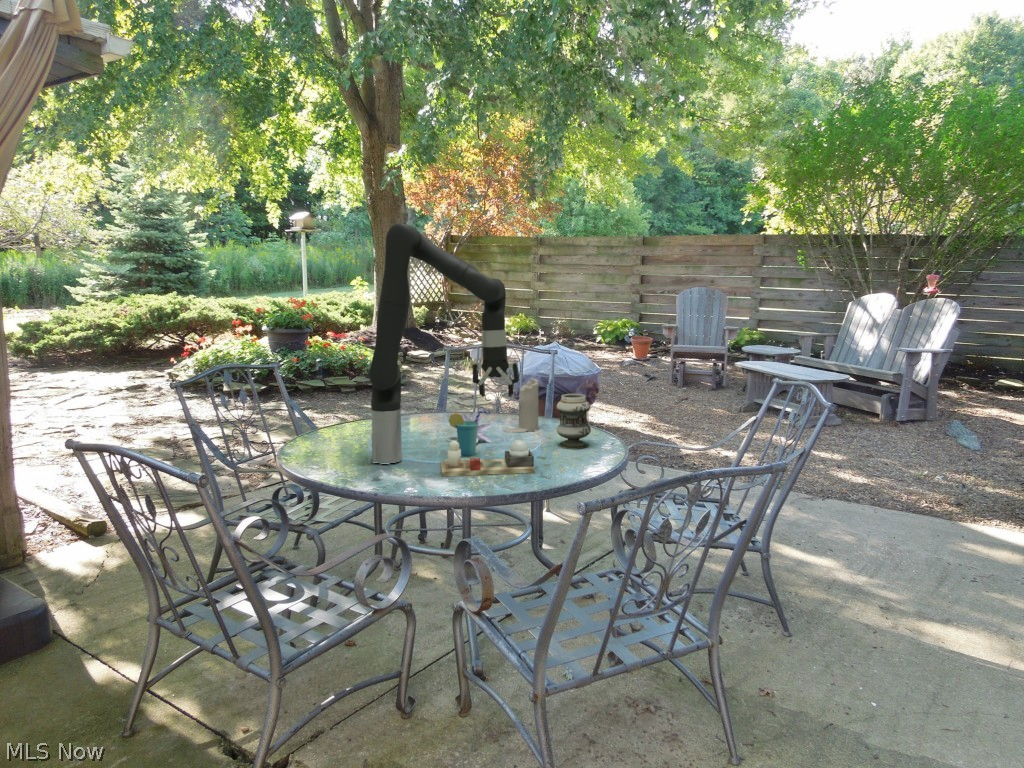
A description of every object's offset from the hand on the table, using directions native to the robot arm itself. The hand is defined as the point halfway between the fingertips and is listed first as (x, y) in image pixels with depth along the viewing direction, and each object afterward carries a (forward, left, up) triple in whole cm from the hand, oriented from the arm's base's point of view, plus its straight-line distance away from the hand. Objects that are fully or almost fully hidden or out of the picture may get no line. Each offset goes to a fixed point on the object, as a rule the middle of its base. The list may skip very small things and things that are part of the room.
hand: (496, 396), depth 206 cm
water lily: (-5, +31, -23) cm, 39 cm away
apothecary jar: (+29, +22, -22) cm, 43 cm away
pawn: (-14, -4, -21) cm, 25 cm away
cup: (-8, +15, -22) cm, 28 cm away
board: (-4, -4, -22) cm, 23 cm away
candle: (+14, +48, -22) cm, 55 cm away
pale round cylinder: (+6, -4, -19) cm, 21 cm away
